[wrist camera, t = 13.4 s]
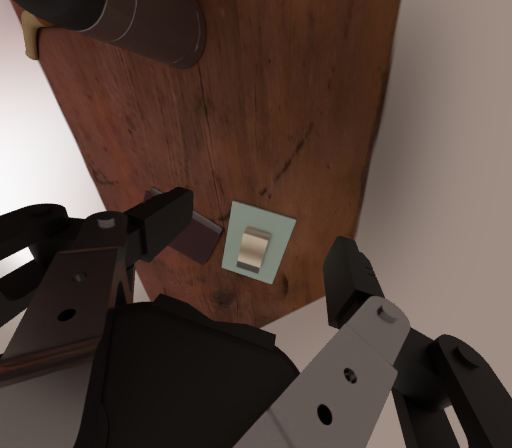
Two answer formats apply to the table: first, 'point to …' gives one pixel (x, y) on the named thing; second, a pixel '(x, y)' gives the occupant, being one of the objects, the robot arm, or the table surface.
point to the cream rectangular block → (252, 249)
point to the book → (194, 235)
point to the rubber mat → (265, 222)
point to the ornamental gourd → (32, 32)
